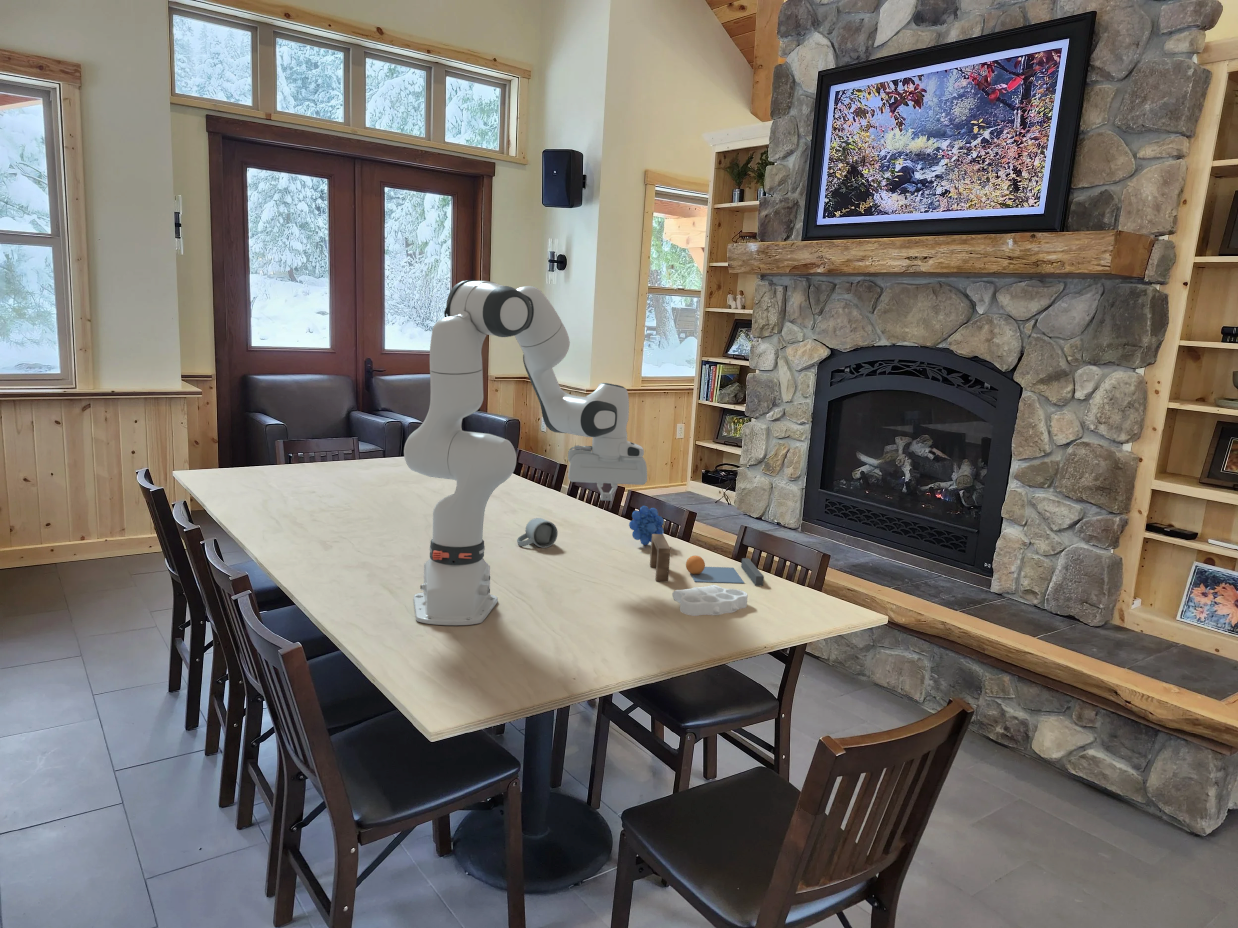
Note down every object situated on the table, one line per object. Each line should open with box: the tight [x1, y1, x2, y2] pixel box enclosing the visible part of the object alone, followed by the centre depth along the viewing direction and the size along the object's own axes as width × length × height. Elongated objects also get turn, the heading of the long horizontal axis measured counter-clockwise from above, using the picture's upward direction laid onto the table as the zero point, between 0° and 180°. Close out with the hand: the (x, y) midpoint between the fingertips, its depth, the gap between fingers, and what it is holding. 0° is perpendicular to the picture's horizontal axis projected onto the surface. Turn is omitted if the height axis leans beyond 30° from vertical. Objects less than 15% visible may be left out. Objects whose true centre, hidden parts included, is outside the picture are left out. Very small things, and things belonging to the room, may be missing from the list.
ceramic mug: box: [516, 517, 559, 549], centre depth 239 cm, size 11×8×8 cm
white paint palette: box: [672, 584, 749, 617], centre depth 197 cm, size 3×18×15 cm
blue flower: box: [628, 505, 665, 546], centre depth 244 cm, size 12×7×12 cm, turn 117°
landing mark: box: [689, 566, 745, 584], centre depth 221 cm, size 13×13×1 cm
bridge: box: [649, 533, 671, 583], centre depth 219 cm, size 3×14×9 cm, turn 5°
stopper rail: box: [740, 557, 765, 587], centre depth 222 cm, size 16×2×2 cm, turn 5°
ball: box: [685, 555, 706, 575], centre depth 221 cm, size 5×5×5 cm
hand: (606, 499), depth 215 cm, fingers closed
